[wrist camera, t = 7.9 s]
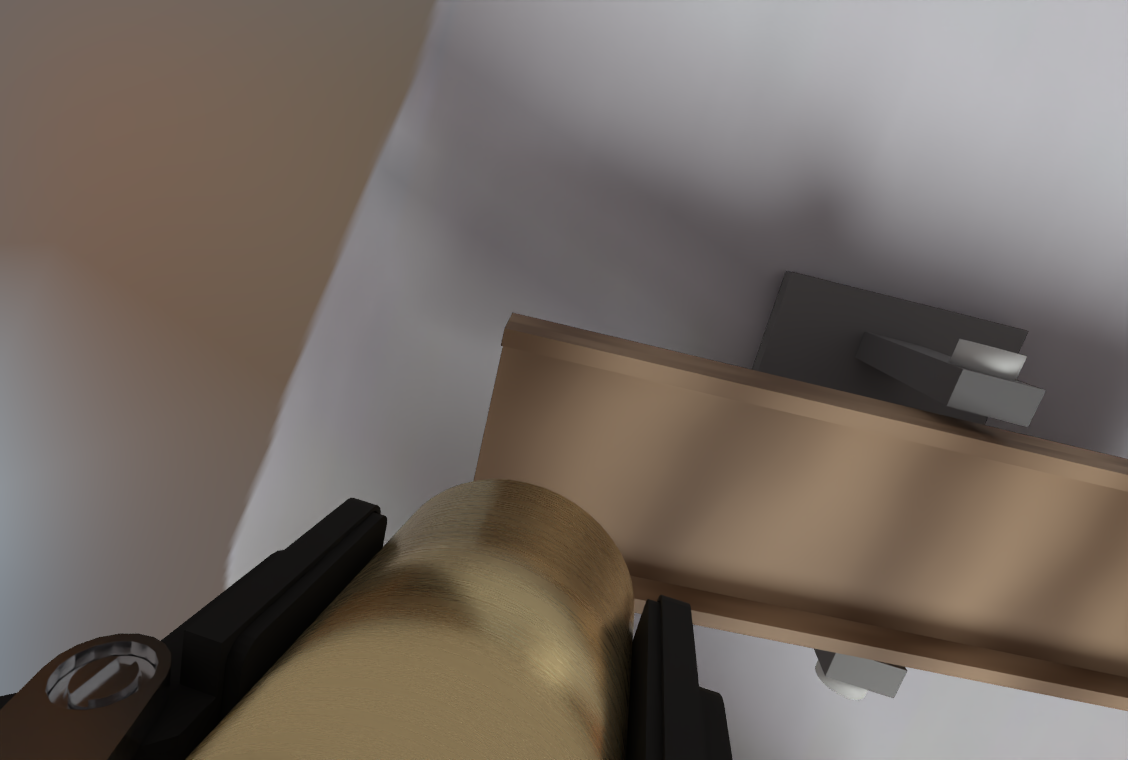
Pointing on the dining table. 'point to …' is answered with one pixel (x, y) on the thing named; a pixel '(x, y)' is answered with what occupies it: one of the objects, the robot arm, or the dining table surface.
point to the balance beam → (827, 511)
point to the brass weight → (458, 644)
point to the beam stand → (893, 385)
